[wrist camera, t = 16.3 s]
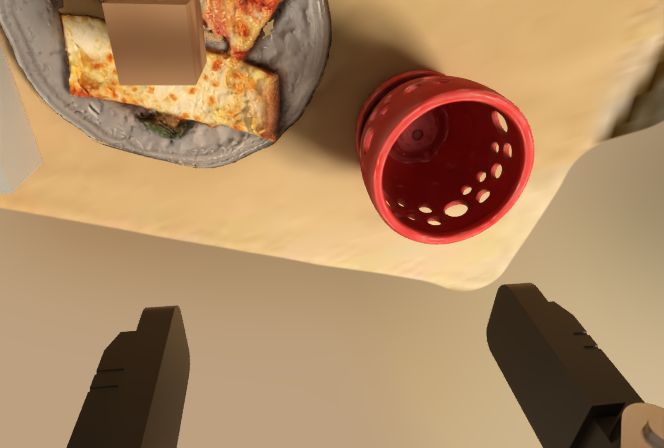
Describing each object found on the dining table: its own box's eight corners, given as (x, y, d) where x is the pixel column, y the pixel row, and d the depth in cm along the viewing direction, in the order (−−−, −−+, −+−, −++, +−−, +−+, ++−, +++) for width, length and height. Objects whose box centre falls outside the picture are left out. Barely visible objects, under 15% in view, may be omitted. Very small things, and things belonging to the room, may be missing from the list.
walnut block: (130, -9, 33) (101, 3, 27) (199, -7, 34) (185, 4, 28) (143, 61, 36) (119, 85, 30) (207, 61, 37) (195, 85, 31)
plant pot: (470, 173, 48) (524, 235, 38) (350, 189, 47) (372, 257, 37) (483, 46, 41) (554, 81, 31) (341, 62, 40) (367, 103, 30)
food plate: (369, -70, 35) (377, -71, 32) (282, 182, 46) (282, 199, 43) (12, -235, 29) (-19, -255, 26) (10, 106, 40) (-12, 119, 37)
